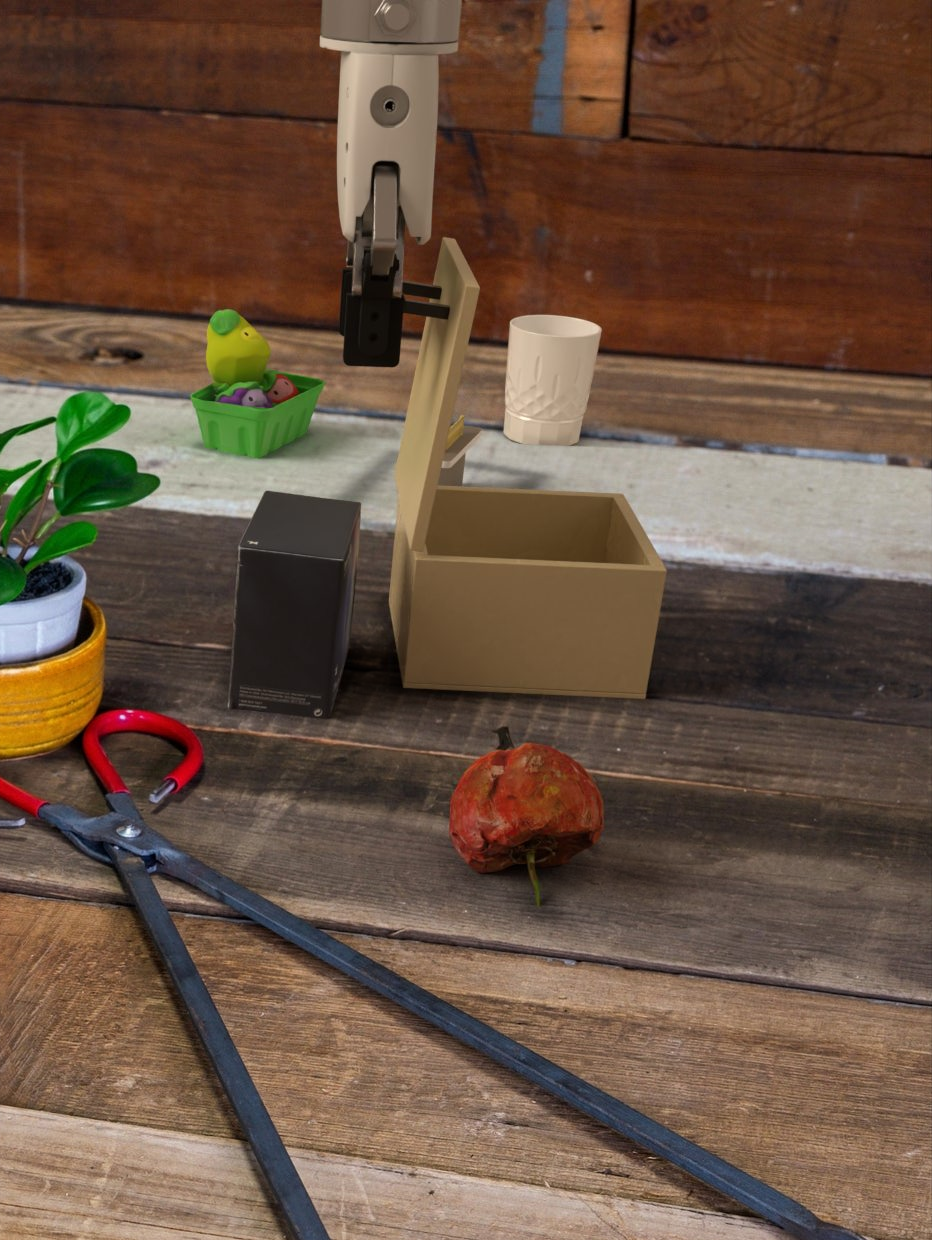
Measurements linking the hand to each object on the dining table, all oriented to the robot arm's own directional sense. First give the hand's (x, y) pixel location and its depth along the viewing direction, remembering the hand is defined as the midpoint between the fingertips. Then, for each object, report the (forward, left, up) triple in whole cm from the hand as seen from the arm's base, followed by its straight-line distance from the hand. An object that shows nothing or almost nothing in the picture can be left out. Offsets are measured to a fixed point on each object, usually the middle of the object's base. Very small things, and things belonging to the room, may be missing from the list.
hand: (367, 347), depth 99 cm
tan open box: (-11, 0, -19) cm, 22 cm away
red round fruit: (-8, +27, -19) cm, 34 cm away
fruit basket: (+6, -42, -19) cm, 47 cm away
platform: (-9, -29, -19) cm, 36 cm away
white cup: (-20, -48, -19) cm, 55 cm away
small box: (+3, +6, -19) cm, 21 cm away
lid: (-5, 0, -2) cm, 5 cm away
